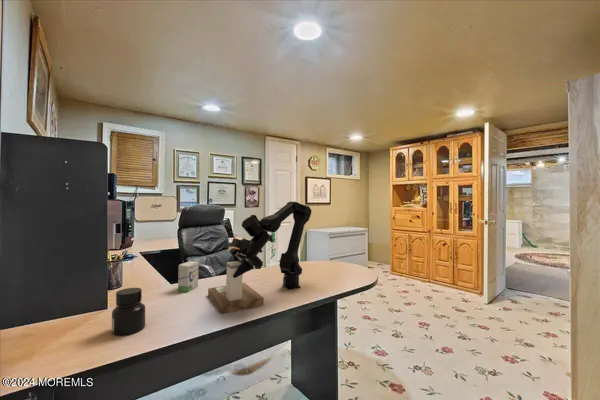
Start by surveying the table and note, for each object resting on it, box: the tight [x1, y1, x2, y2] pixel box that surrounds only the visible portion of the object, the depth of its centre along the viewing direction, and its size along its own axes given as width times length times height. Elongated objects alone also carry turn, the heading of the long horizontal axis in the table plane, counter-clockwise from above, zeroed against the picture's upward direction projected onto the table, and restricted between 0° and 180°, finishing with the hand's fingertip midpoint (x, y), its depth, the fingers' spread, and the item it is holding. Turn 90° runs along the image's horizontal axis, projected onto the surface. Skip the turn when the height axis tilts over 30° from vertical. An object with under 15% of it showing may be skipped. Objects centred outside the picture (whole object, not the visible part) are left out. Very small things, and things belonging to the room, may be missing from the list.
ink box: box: [177, 261, 199, 293], centre depth 127 cm, size 9×5×12 cm, turn 168°
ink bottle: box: [111, 287, 146, 336], centre depth 88 cm, size 10×9×12 cm
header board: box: [207, 282, 264, 315], centre depth 113 cm, size 16×22×3 cm
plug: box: [225, 261, 243, 301], centre depth 107 cm, size 5×5×14 cm
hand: (230, 275), depth 106 cm, fingers closed on plug, 5 cm apart
